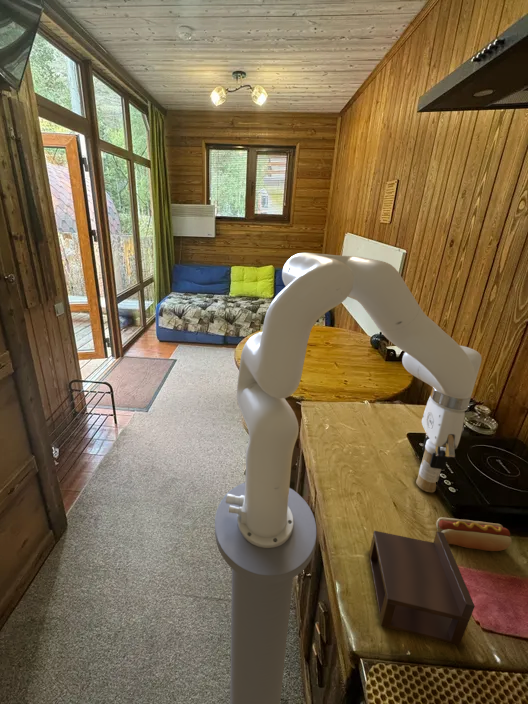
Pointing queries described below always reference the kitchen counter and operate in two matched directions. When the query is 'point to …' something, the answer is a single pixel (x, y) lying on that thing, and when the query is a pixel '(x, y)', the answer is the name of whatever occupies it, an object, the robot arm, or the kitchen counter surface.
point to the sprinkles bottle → (428, 469)
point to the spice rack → (420, 587)
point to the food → (474, 534)
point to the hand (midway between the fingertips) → (432, 459)
